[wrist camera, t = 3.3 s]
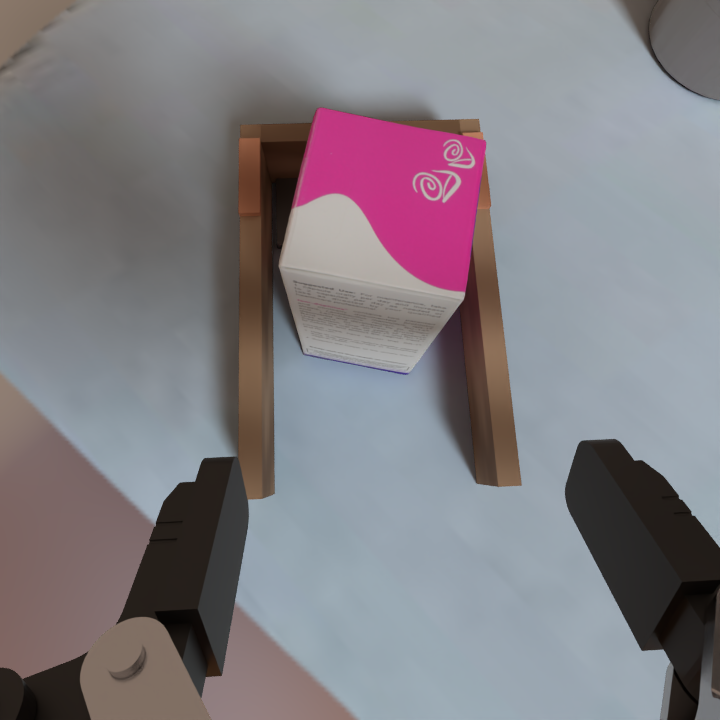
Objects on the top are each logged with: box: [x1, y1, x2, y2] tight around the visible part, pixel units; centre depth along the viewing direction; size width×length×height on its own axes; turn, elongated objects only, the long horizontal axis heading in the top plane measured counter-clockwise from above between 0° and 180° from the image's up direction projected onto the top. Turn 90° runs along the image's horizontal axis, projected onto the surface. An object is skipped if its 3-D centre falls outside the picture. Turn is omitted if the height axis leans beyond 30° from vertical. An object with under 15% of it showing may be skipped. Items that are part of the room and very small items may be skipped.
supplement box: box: [279, 107, 486, 375], centre depth 20 cm, size 6×6×12 cm
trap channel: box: [238, 119, 522, 500], centre depth 24 cm, size 18×12×4 cm, turn 3°
